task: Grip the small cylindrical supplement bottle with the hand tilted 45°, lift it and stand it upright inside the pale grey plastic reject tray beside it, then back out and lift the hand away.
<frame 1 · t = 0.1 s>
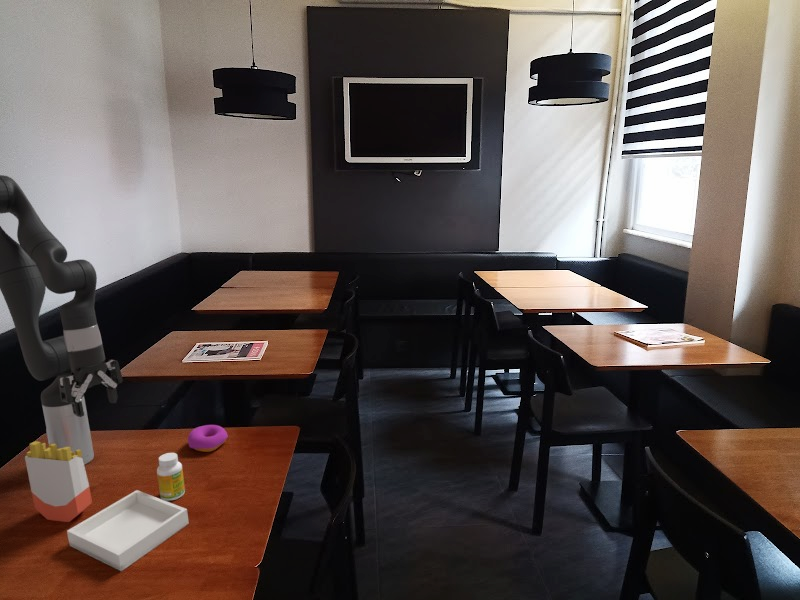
hand: (97, 409, 134), 17 cm above the table, tool pointing down, fingers open, 8 cm apart
reject tray: (130, 534, 115), on the table
french fries container: (66, 515, 122), on the table
supplement bottle: (173, 495, 129), on the table
donut: (208, 445, 152), on the table
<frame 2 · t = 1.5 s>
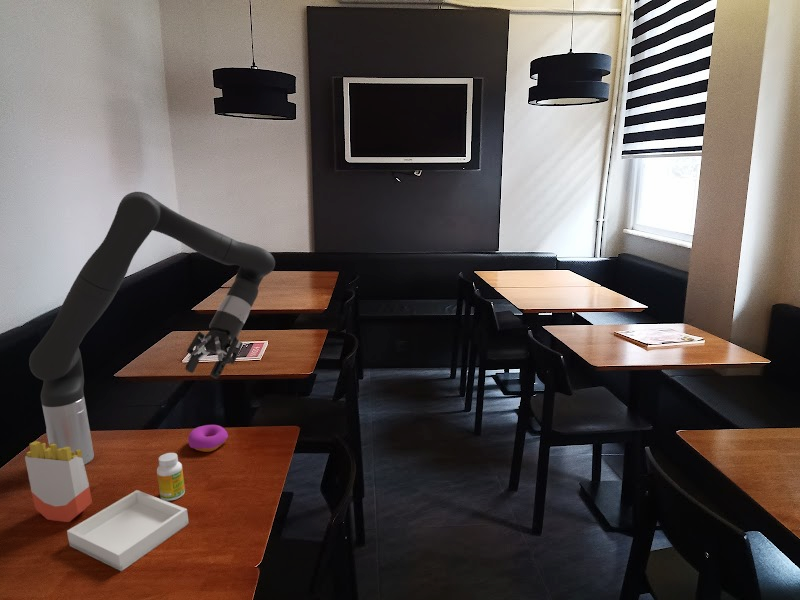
hand: (200, 374, 135), 25 cm above the table, tool tilted 45°, fingers open, 8 cm apart
nothing on the table moved.
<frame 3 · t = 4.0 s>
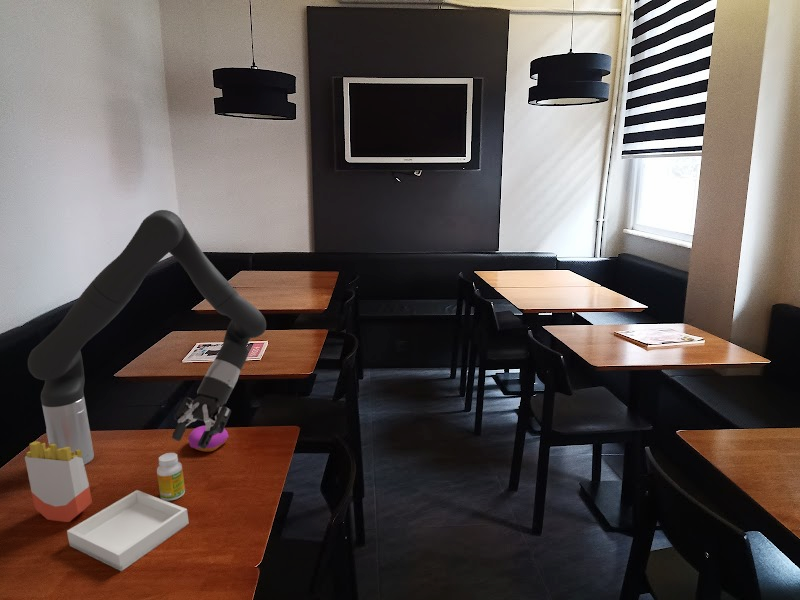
hand: (188, 443, 131), 10 cm above the table, tool tilted 45°, fingers open, 8 cm apart
nothing on the table moved.
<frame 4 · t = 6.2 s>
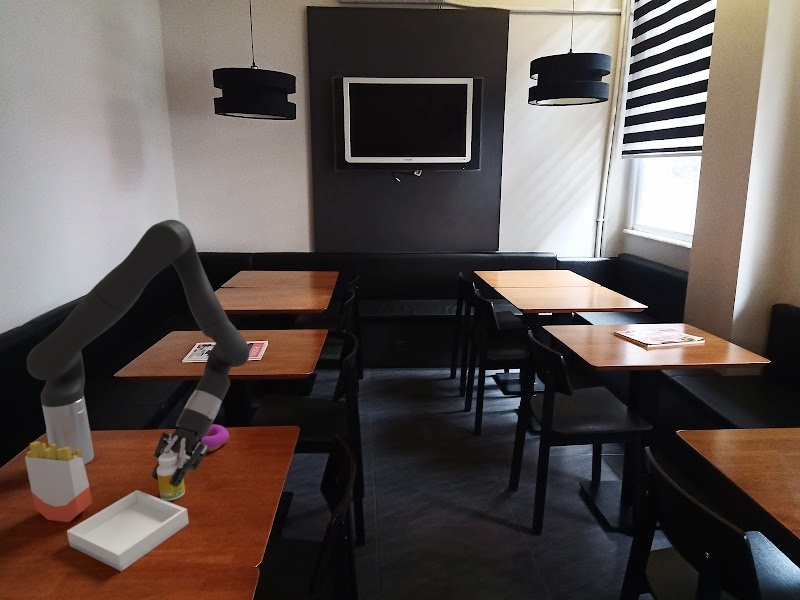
hand: (164, 482, 126), 4 cm above the table, tool tilted 45°, fingers closed on supplement bottle, 5 cm apart
supplement bottle: (172, 495, 129), on the table, touching gripper
everything else where it was.
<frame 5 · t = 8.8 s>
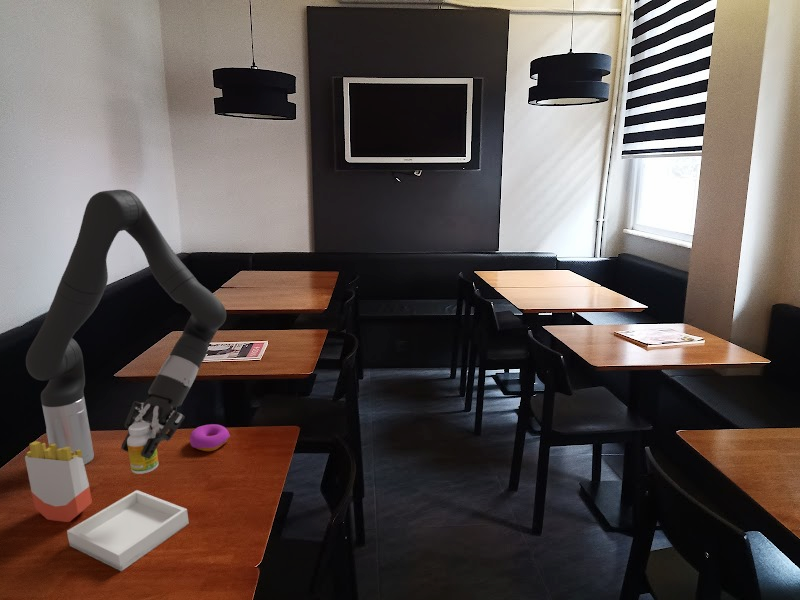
hand: (135, 453, 116), 16 cm above the table, tool tilted 45°, fingers closed on supplement bottle, 5 cm apart
supplement bottle: (145, 468, 118), point 11 cm above the table, touching gripper
everything else where it was.
when the fingers open (6 cm above the table, at t = 11.5 s): supplement bottle drops 1 cm, resting on reject tray.
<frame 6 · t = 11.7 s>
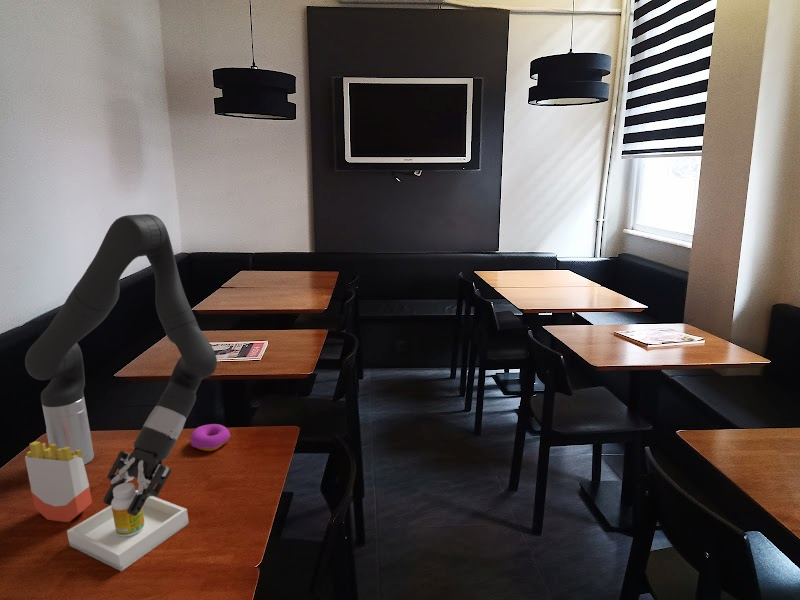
hand: (119, 509, 112), 7 cm above the table, tool tilted 45°, fingers open, 7 cm apart
supplement bottle: (130, 530, 115), point 1 cm above the table, touching reject tray
everything else where it was.
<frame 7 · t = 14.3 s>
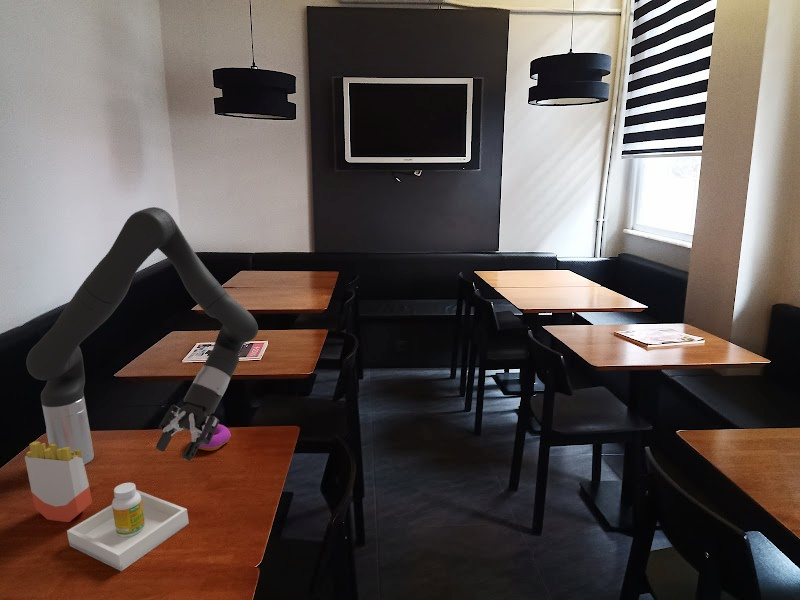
hand: (172, 454, 124), 11 cm above the table, tool tilted 45°, fingers open, 8 cm apart
nothing on the table moved.
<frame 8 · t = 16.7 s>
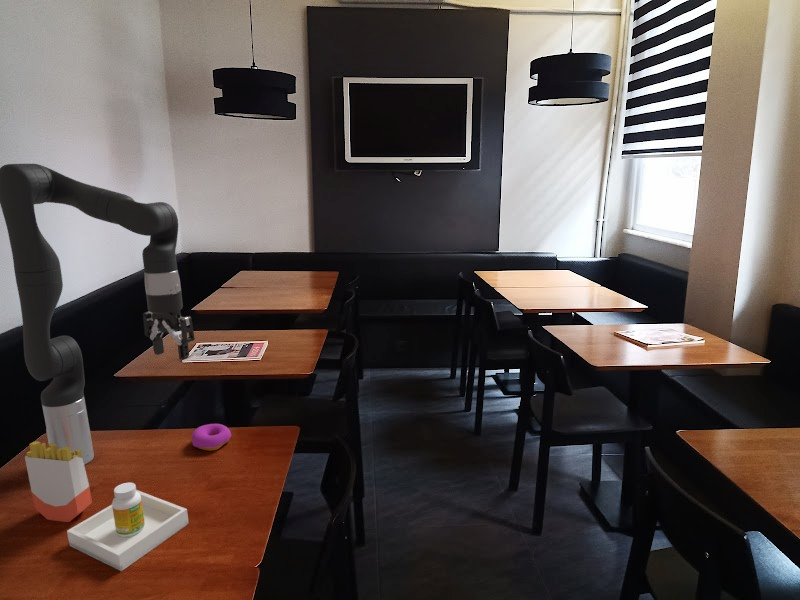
hand: (171, 356, 132), 30 cm above the table, tool pointing down, fingers open, 8 cm apart
at the end: supplement bottle inside the target area on the reject tray (0.2 cm from its centre), point 0.8 cm above the reject tray's base; supplement bottle tilted 1°; the gripper is holding nothing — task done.
